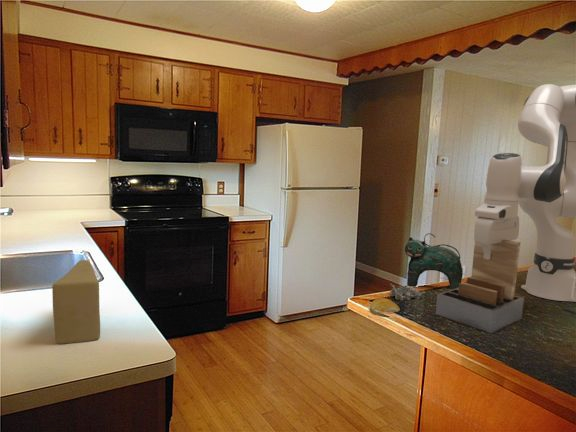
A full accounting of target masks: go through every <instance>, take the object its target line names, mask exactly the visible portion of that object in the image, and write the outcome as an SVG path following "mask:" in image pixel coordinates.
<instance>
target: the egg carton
mask: <svg viewBox="0 0 576 432" xmlns="http://www.w3.org/2000/svg"><path fill="white" fill-rule="evenodd" d="M389 286H391V287H392V288H391V289H390V297H394V296H395V297H394V298H395V300H397V301H404V300H411V299H415V300H420V299H421V298H422V295H423V293H421V292H420V291H418V289H414V287H412V286H407V285H403V286H400V285H399V286H398V288H396V285H393V284H392V283H390V284H389Z"/></svg>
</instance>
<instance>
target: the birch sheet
mask: <svg viewBox="0 0 576 432" xmlns="http://www.w3.org/2000/svg"><path fill="white" fill-rule="evenodd" d="M473 248H474V249H473V255H472V257H473V259H472V267H471V276H470V277H474V278H478V279H482V280H486V281H490V282H494V283H498V284H502V285H505V291H504V298H508V299H512V300H514V296H516V295H515V294H516V293H515V292H516V285H517V284H516V283H517V276H518V266H519V260H520V259H519V258H520V248H521V242H520V241H515V240H511V241H510V240H502V242H501V243H496V244H492V248H491V253H492V258H491V259H489V260H487V259H484V258H483V256H484V252H483V249H482V245H481V244H476V242H475V241H474V246H473Z"/></svg>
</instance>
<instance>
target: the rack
mask: <svg viewBox="0 0 576 432" xmlns="http://www.w3.org/2000/svg"><path fill="white" fill-rule="evenodd" d="M458 290H459V287H458V288H455V289H450V290H446V291H443V292H439V293H437V294H436V295H437V296H436V307H435V315H437V316H440V317H442V318H446V319H448V320H452V321H455V322H457V323H459V324H464V325H466V326H469V327H472V328H474V329H477V330H480V331H483V332H486V333H489V334H492V333H494V332H495V333H496V332H497V331H498V330H501V329H503V328H505V327H507V326H509V325H511V324H514V323H515V322H518V321H519V320H521V319H523V309H524V301H525V298H524V297H521V296H518V295H514V300H512V299H508V298H504V300H503V302H501V301H498V300H496V305H494V304H490V303H487V302H484V301H480V300H477V299H473V298H470V297H466V296H463V295H459V294H458Z"/></svg>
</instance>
